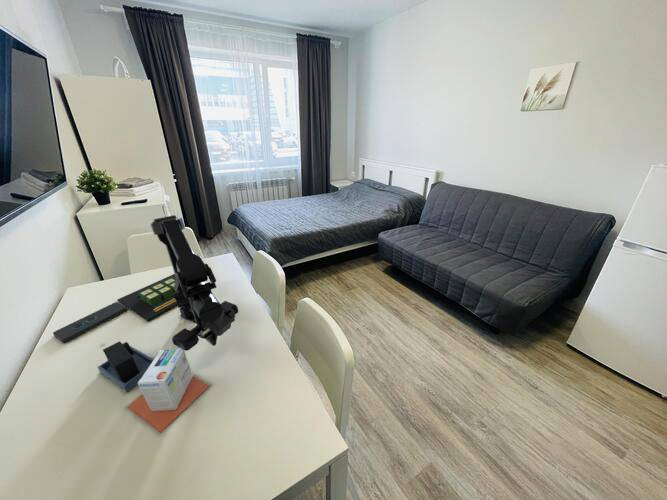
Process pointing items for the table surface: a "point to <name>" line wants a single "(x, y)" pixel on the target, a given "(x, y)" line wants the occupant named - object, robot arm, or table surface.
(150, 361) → the slate tray
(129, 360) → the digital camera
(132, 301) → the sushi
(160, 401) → the light bulb box
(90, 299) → the table surface
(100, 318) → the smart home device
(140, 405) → the terracotta mat
